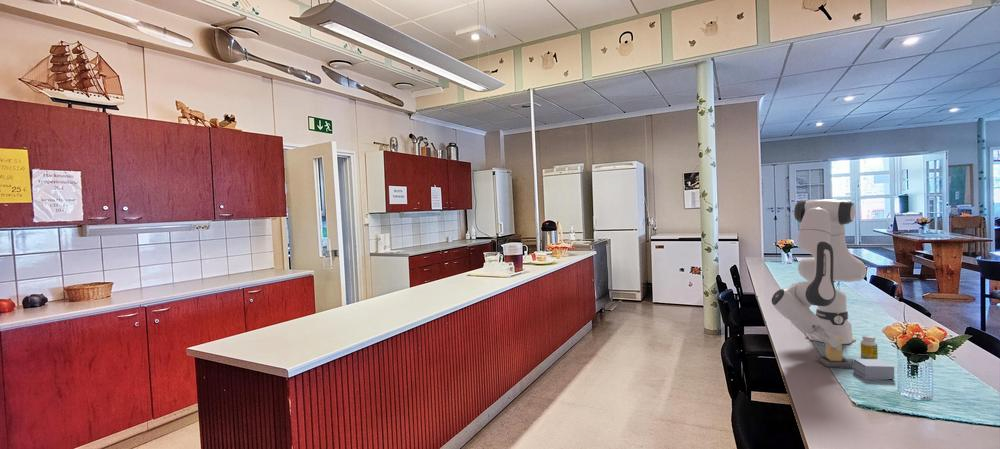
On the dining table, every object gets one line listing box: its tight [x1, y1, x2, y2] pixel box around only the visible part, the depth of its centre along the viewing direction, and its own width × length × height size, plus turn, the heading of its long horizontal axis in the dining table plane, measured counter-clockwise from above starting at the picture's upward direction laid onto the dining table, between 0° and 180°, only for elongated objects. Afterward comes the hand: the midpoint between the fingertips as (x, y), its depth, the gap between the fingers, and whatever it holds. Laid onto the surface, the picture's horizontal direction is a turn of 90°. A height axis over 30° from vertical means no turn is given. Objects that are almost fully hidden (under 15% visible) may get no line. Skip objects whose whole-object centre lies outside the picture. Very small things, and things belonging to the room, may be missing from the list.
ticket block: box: [853, 358, 895, 381], centre depth 168 cm, size 8×9×5 cm
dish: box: [816, 355, 853, 369], centre depth 182 cm, size 9×9×2 cm
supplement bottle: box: [860, 334, 879, 359], centre depth 185 cm, size 5×5×10 cm
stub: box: [825, 336, 843, 361], centre depth 182 cm, size 4×4×9 cm
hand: (835, 347), depth 181 cm, fingers closed on stub, 4 cm apart
